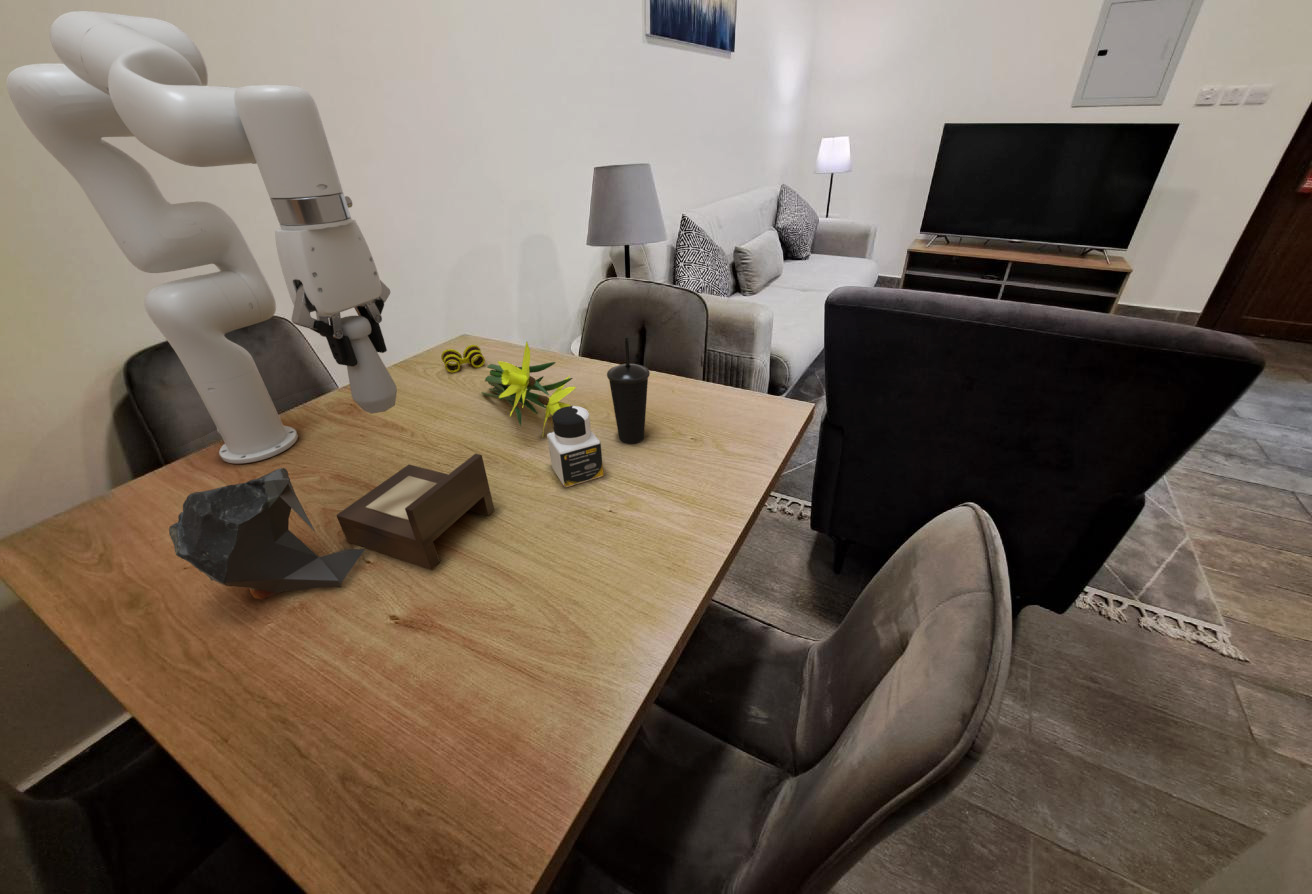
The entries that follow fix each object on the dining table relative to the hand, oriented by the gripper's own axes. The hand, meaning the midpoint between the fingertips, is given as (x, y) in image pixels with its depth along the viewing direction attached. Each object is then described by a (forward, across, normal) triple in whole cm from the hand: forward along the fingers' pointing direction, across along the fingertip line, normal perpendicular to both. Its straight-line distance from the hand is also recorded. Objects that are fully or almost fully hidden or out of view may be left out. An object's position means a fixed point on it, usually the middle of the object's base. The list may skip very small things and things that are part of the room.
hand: (362, 356), depth 72 cm
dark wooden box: (+26, +3, +5) cm, 26 cm away
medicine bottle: (+26, -18, +20) cm, 37 cm away
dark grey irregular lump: (+26, +19, -4) cm, 32 cm away
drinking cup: (+26, -31, +25) cm, 48 cm away
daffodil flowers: (+26, -32, -1) cm, 41 cm away
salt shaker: (+8, 0, 0) cm, 8 cm away
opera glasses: (+26, -49, -29) cm, 63 cm away
